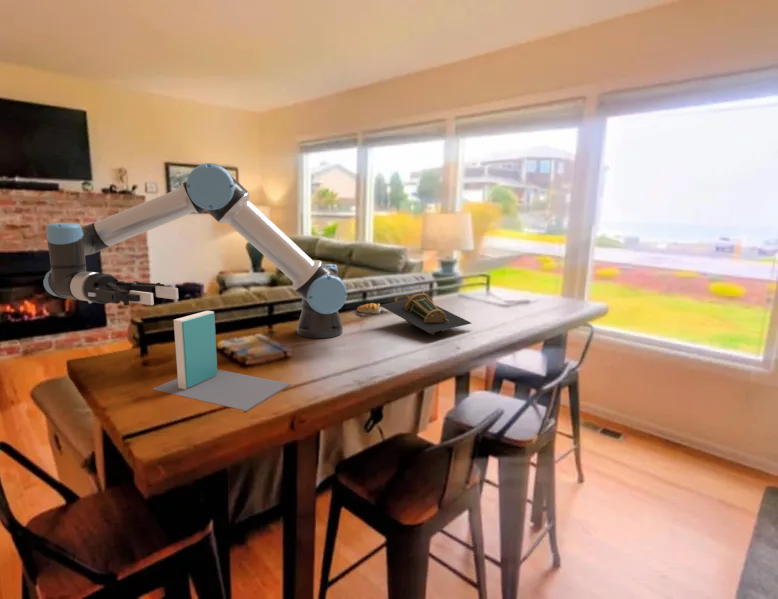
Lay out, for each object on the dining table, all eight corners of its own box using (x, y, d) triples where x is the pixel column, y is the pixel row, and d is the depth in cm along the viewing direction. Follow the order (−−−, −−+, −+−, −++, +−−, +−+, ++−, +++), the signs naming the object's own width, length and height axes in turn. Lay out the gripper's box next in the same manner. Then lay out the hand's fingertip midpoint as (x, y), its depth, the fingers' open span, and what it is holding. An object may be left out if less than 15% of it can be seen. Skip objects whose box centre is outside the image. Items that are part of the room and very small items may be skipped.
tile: (178, 387, 104) (173, 319, 101) (210, 373, 113) (206, 310, 110) (186, 389, 103) (182, 321, 100) (218, 375, 112) (215, 311, 109)
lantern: (422, 353, 146) (364, 312, 165) (464, 346, 163) (407, 309, 182) (435, 315, 142) (374, 278, 161) (477, 312, 159) (417, 278, 178)
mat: (152, 390, 103) (151, 389, 103) (204, 368, 117) (204, 366, 117) (245, 412, 94) (245, 410, 93) (290, 385, 108) (290, 383, 108)
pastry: (356, 313, 182) (356, 304, 181) (358, 310, 188) (358, 300, 188) (380, 314, 182) (380, 305, 181) (380, 310, 188) (381, 301, 187)
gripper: (131, 295, 125) (197, 304, 117) (58, 309, 107) (129, 321, 99) (129, 268, 124) (195, 275, 115) (54, 278, 106) (126, 287, 98)
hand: (164, 296), depth 107 cm, fingers open, 6 cm apart
